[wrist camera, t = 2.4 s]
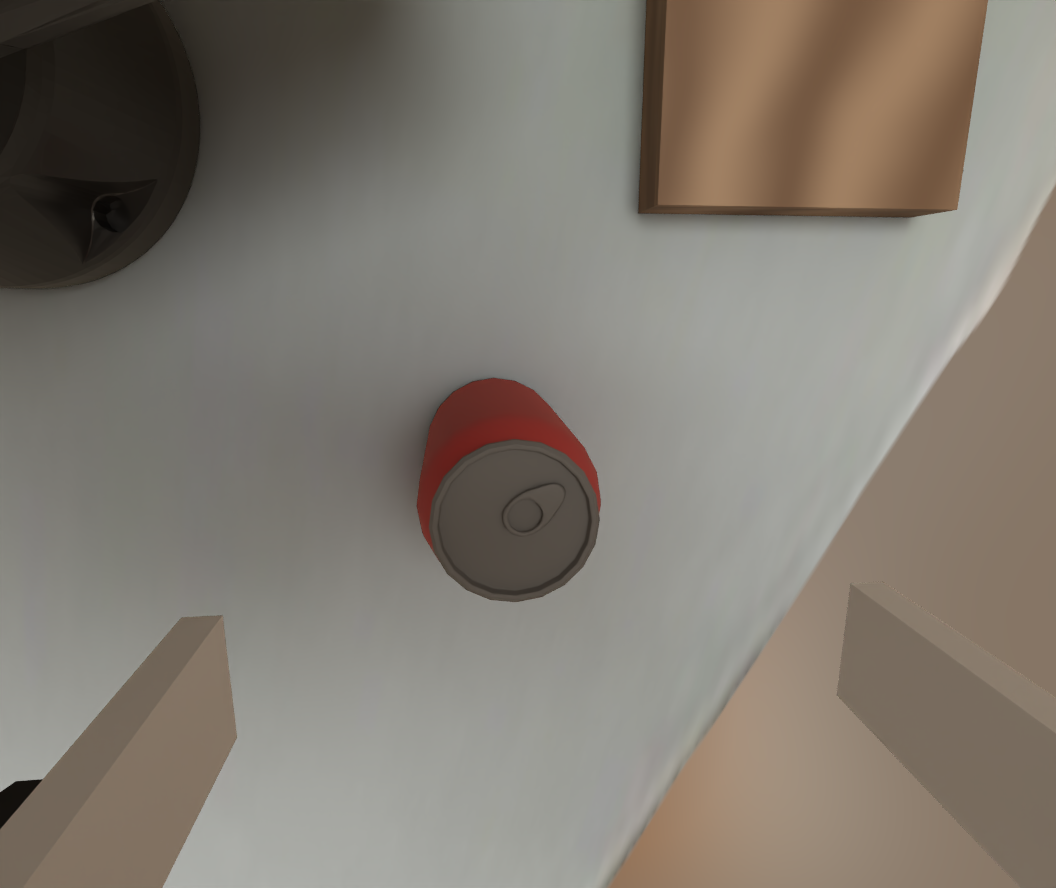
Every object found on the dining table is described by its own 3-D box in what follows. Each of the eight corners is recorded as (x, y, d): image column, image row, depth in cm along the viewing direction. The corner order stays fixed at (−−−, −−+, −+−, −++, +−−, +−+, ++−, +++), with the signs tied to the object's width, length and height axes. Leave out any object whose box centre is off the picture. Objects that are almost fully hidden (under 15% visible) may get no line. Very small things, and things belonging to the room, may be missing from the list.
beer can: (583, 452, 33) (653, 539, 21) (481, 527, 33) (495, 653, 22) (507, 349, 31) (538, 382, 20) (400, 429, 32) (368, 509, 20)
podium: (638, 213, 30) (657, 204, 27) (651, -134, 27) (675, -186, 24) (911, 217, 32) (956, 209, 29) (954, -112, 29) (1011, -157, 26)
